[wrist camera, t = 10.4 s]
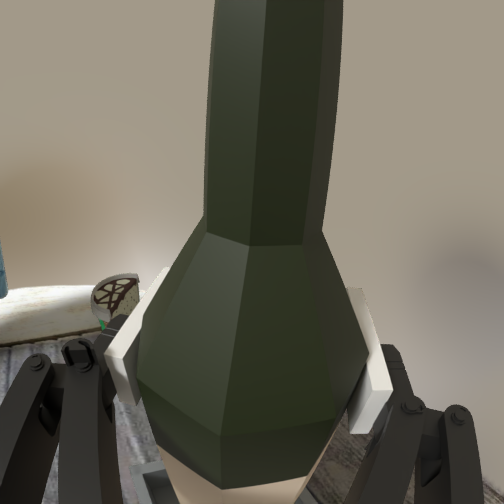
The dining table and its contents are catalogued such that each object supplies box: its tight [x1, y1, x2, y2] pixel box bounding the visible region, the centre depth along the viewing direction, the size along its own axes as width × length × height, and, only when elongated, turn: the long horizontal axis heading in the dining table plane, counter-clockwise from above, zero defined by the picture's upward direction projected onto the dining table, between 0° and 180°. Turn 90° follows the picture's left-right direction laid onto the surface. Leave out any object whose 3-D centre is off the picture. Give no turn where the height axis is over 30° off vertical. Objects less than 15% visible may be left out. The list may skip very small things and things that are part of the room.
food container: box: [91, 273, 140, 330], centre depth 50 cm, size 12×6×10 cm, turn 175°
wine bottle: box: [136, 0, 369, 504], centre depth 11 cm, size 8×8×30 cm
